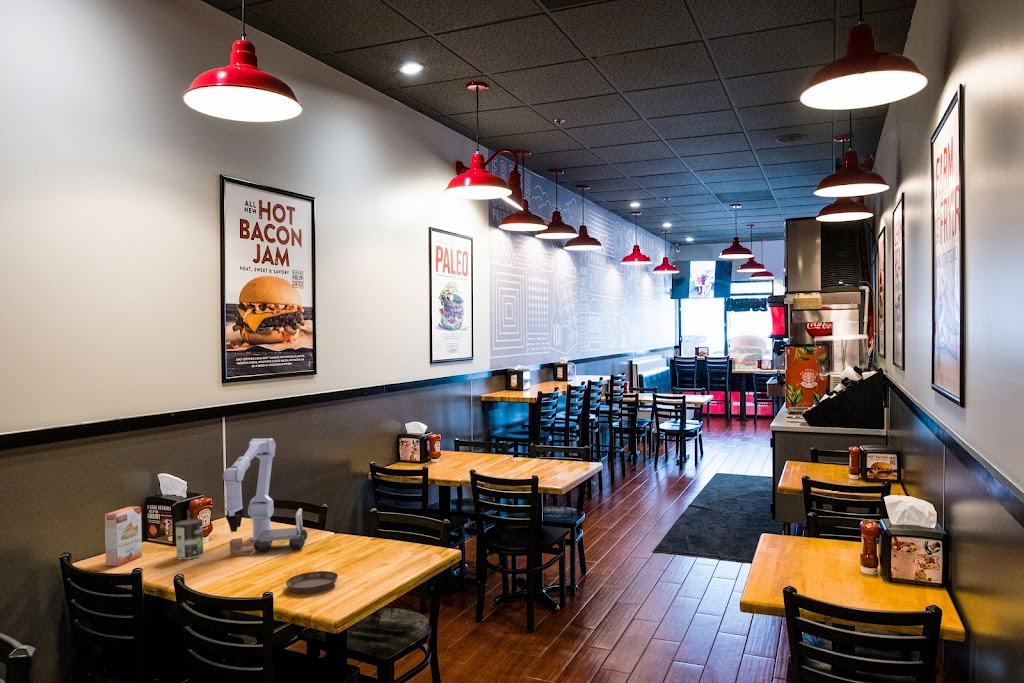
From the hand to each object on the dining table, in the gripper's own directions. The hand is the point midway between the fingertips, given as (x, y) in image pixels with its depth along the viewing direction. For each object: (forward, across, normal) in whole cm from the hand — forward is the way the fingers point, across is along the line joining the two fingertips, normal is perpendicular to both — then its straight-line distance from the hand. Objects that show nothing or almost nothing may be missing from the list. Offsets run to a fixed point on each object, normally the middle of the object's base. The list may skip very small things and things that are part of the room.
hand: (235, 529), depth 298 cm
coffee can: (+9, +1, -18) cm, 20 cm away
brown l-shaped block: (+9, +5, +3) cm, 11 cm away
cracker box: (+9, +1, -43) cm, 44 cm away
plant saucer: (+9, +56, +36) cm, 67 cm away
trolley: (+9, 0, +18) cm, 20 cm away
